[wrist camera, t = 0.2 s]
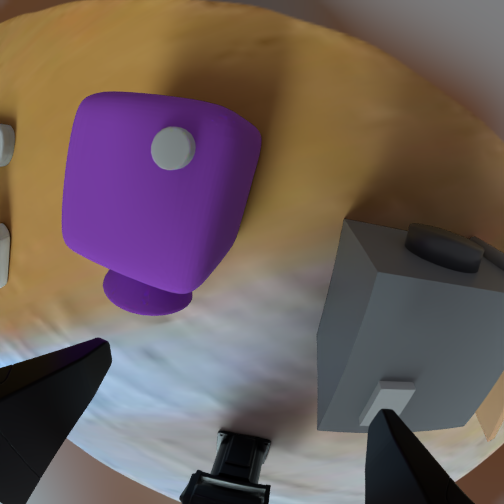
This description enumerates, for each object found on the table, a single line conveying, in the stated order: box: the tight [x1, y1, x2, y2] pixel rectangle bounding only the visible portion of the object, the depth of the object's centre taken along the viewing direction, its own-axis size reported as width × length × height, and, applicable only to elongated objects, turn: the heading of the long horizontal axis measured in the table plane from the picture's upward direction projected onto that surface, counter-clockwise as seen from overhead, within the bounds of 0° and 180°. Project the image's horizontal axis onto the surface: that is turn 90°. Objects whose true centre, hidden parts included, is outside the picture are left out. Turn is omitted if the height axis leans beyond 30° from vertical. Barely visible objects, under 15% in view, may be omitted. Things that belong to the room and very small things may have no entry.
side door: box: [470, 236, 504, 441], centre depth 15 cm, size 17×2×9 cm, turn 18°
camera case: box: [317, 219, 504, 433], centre depth 15 cm, size 11×11×11 cm
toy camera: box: [62, 92, 261, 316], centre depth 16 cm, size 11×14×10 cm
